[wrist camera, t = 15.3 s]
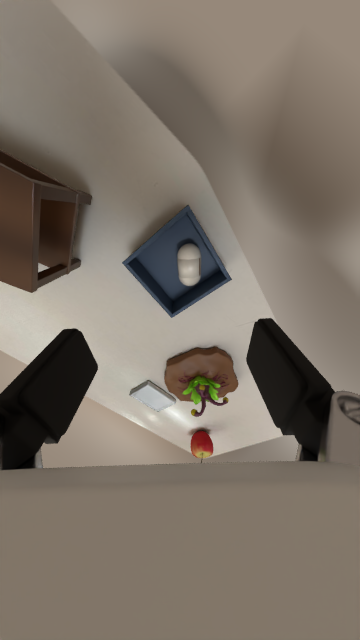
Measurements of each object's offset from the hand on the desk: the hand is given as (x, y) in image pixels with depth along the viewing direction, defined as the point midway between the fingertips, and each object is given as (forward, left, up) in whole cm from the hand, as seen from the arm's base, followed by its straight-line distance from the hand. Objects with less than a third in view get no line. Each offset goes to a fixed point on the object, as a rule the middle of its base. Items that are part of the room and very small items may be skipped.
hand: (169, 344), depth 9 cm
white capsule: (+1, +1, -23) cm, 23 cm away
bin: (+1, +1, -24) cm, 24 cm away
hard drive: (+41, +12, -24) cm, 49 cm away
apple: (+56, +38, -24) cm, 72 cm away
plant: (+26, +20, -24) cm, 41 cm away
